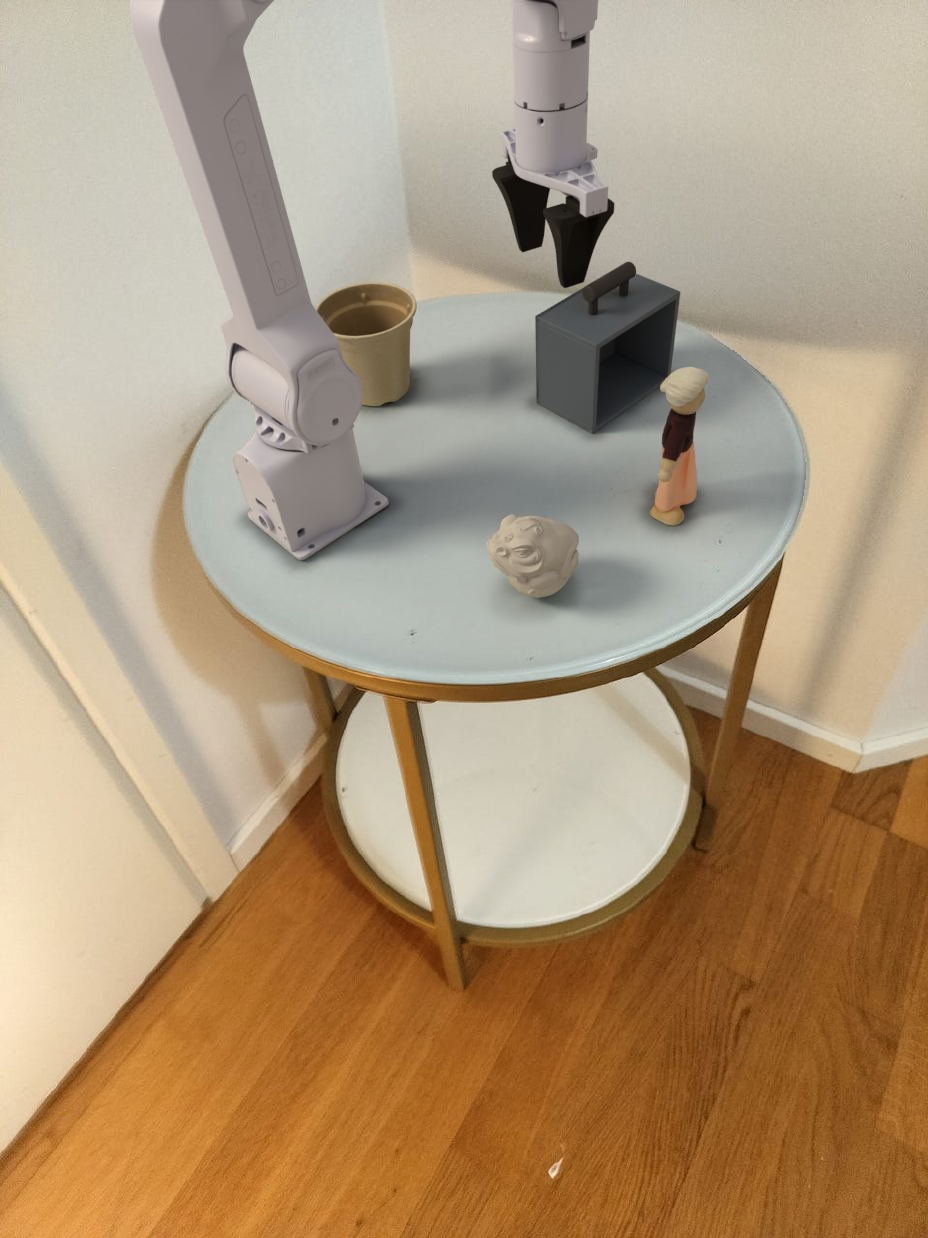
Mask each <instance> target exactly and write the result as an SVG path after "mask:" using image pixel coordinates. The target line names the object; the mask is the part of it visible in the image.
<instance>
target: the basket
mask: <svg viewBox="0 0 928 1238" xmlns="http://www.w3.org/2000/svg"><path fill="white" fill-rule="evenodd" d="M680 299H681V290H678V289H676V288H673V287H670V286H668V285H665V284H663V283H660V282H658V281H656V280H653V279H651V278H649V277H646V276H643V275H641V274H638V273H637V268H636V265H635V264H634V263H633V262H632V261H625V262H624V263H622V264H620V265H619V266H617V267H615V268H613V269H612V270H610V271H609V272H607V273H605V274H603V275H601V276H600V277H599V278H597V279H595V280H593V281H591V282H590V283H588V284H587V285H585V286H584V287H582V288H580V289H578V290H576V291H575V292H574V293H572V294H570V295H568V296H566V297H565V298H563V299H562V300H560V301H558V302H556V303H555V304H553V305H551V306H549V307H548V308H546V309H545V310H543V311H541V312H540V313H538V314H536V315H535V316H534V320H535V322H534V323H535V377H536V378H535V386H536V387H535V389H536V391H535V392H536V404H537V405H539V406H541V407H543V408H545V409H547V410H548V411H550V412H552V413H554V414H555V415H558V416H559V417H561V418H563V419H565V420H566V421H568V422H571V423H572V424H574V425H576V426H577V427H580V428H581V429H583V430H585V431H586V432H588V433H591V434H594V433H596V432H597V431H598V430H600V429H601V428H602V427H604V426H605V425H608V424H609V423H610V422H611V421H613V420H614V419H616V418H617V417H618V416H620V415H621V414H623V413H624V412H625V411H627V410H629V409H631V407H633V406H634V405H636V404H637V403H639V402H640V401H641V400H643V399H644V398H646V397H647V396H649V395H650V394H652V393H653V392H654V391H656V390H657V389H660V386H661V384H662V383H663V381H664V380H665V379H666V378H667V377H668V376H669V375H670V374H671V373H672V365H673V357H674V350H675V341H676V332H677V325H678V324H677V323H678V316H679V315H678V314H679V308H680Z"/></svg>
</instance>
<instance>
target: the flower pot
mask: <svg viewBox="0 0 928 1238" xmlns="http://www.w3.org/2000/svg"><path fill="white" fill-rule="evenodd" d="M417 305H418V304H417V300H416V298H415V296H414V294H413V293H412V292H411V291H410V290H409V289H406V288H405V287H403V286H400V285H397V284H394V283H389V282H383V281H381V282H380V281H368V282H367V281H365V282H359V283H353V284H349V285H346V286H343V287H340V288H338V289H335V290H333V291H331V292H330V293H328V294H326V296H324V297H322V298H321V300H320V301H319V302H318V303H317V304H316V305H315V307H314V308H315V309H316V311H317V312H318V314H319V315H320V316H321V318H322V319H323V320H324V322H325V323H326V324H327V326H328V327H329V328H330V330H331V331H332V332H333V334H334V335H335V337H336V338H337V339H338V341H339V343H340V347H341V351H342V354H343V357H344V359H345V361H346V362H347V364H348V365H349V366H350V367H351V368H352V369H353V370H354V371H355V372H356V373H357V375H358V376H359V378H360V381H361V384H362V389H363V399H362V405H361V406H367V407H380V406H382V405H383V404H386V403H389V402H393V403H395V402H397V401H399V400H400V399H401V398H403V397H404V396H405V395H406V394H407V393H408V391H409V390H410V386H411V379H410V378H411V376H410V375H411V373H410V371H411V369H410V368H411V361H410V360H411V329H412V328H413V327H412V326H413V323H414V317H415V314H416V313H417Z"/></svg>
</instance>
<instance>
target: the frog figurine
mask: <svg viewBox="0 0 928 1238" xmlns="http://www.w3.org/2000/svg"><path fill="white" fill-rule="evenodd" d="M579 538H580V537H579V534H578V533H577V532H576V530H574V528H573V527H571V526H570V525H568V524H566V523H564V522H563V521H558V520H556V519H553V518H549V517H543V516H537V515H525V516H522V515H520V516H518V515H516V514H513V513H510V514H508V515H507V516H505V517H504V518H503V519H502V520H501V522H500V524H499V529H498V530H496V531H495V532H494V533H493V534H492V536H491V537H490V538H488V540H487V541H486V547H487V550H488V555H489V559H490V561H491V562H492V565H493V566H494V568H496V569H498V570H499V571H500V572H501V573H502V574H503V575H505V576H506V578H507V580H508V581H509V583H510V585H511V586H512V587H513V589H515V590H516V591H517V592H519V593H520V594H522V595H524V596H527V597H530V598H537V599H538V598H545V597H549V596H552V595H554V594H556V593H557V592H559V591H560V590H561V589H562V588H563V587H564V586H565V585H566V583H568V580H569V578H571V577H572V575H574V573H575V572H576V571H577V568H578V563H579V550H578V549H577V548H578V546H579V542H580V539H579Z"/></svg>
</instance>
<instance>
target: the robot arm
mask: <svg viewBox="0 0 928 1238" xmlns="http://www.w3.org/2000/svg"><path fill="white" fill-rule="evenodd" d="M274 2H275V0H129V16H130V21H131V25H132V29H133V30H132V31H133V34H134V37H135V39H136V42H137V45H138V48H139V51H140V54H141V57H142V60H143V62H144V65H145V68H146V71H147V73H148V77H149V80H150V82H151V85H152V87H153V90H154V93H155V96H156V100H157V102H158V104H159V107H160V111H161V113H162V116H163V119H164V122H165V125H166V127H167V130H168V134H169V136H170V139H171V142H172V144H173V147H174V151H175V153H176V156H177V159H178V162H179V165H180V168H181V170H182V173H183V176H184V179H185V182H186V184H187V187H188V190H189V193H190V196H191V198H192V202H193V204H194V207H195V211H196V213H197V215H198V219H199V221H200V222H199V223H200V224H201V228H202V230H203V232H204V236H205V238H206V241H207V244H208V247H209V250H210V253H211V255H212V258H213V261H214V264H215V267H216V269H217V270H216V271H217V272H218V276H219V278H220V282H221V283H222V287H223V289H224V292H225V296H226V298H227V301H228V305H229V307H230V309H231V313H230V314H228V316H227V317H226V318H225V319H224V321H222V323H221V324H220V329H221V332H222V335H223V337H224V342H225V347H226V348H225V350H226V354H225V362H224V363H225V364H224V369H225V376H226V380H227V382H228V385H229V386H230V387H231V389H232V391H233V392H234V393H235V394H236V395H238V396H239V397H240V398H243V399H244V400H245V401H247V402H250V407H251V410H252V413H253V415H254V423H255V427H256V430H255V432H254V434H253V435H252V437H251V438H250V439H249V441H248V442H247V443H246V444H245V445H243V446H242V447H241V448H240V449H239V450H238V451H237V452H235V454H234V455H233V459H232V460H233V467H234V470H235V474H236V476H237V478H238V479H237V480H238V482H239V484H240V488H241V490H242V493H243V495H244V499H245V501H246V504H247V507H248V510H249V511H248V512H247V516H248V518H249V520H251V522H252V523H254V524H255V525H256V526H257V527H259V528H260V529H261V530H262V531H264V533H266V534H267V535H268V536H270V537H271V538H272V539H273V540H274V541H275V542H276V543H277V544H279V545H280V546H282V547H283V549H285V550H286V551H287V552H289V554H291V555H292V557H294V558H295V559H297V560H299V561H304V560H306V559H308V558H310V557H311V556H313V555H314V554H316V553H317V552H319V551H320V550H322V549H323V548H325V547H326V546H328V545H330V544H331V543H332V542H334V541H336V540H338V538H340V537H342V536H343V535H345V534H346V533H349V531H351V530H352V529H354V528H356V527H357V526H358V525H360V524H362V523H363V522H365V521H366V520H368V519H369V518H370V517H371V518H372V516H374V515H375V514H377V513H378V512H380V511H381V510H383V509H384V508H386V507H387V506H389V504H390V502H389V498H388V497H387V496H385V495H383V494H382V493H381V492H379V491H378V490H377V489H375V488H374V487H373V486H371V485H370V484H368V483H367V482H365V480H364V476H363V471H362V466H361V461H360V457H359V451H358V447H357V443H356V438H355V434H354V429H353V428H354V427H355V426H354V424H355V422H356V421H357V418H358V416H359V414H360V411H361V408H362V406H363V405H362V399H363V389H362V384H361V381H360V378H359V376H358V375H357V373H356V372H355V371H354V370H353V369H352V368H351V367H350V366H349V365H348V364H347V362H346V361H345V359H344V357H343V354H342V351H341V347H340V343H339V341H338V339H337V338H336V337H335V335H334V334H333V332H332V331H331V330H330V328H329V327H328V326H327V324H326V323H325V322H324V320H323V319H322V318H321V316H320V315H319V314H318V312H317V311H316V309H315V308H316V307H314V305H313V303H312V300H311V297H310V292H309V290H308V286H307V282H306V277H305V274H304V271H303V266H302V263H301V260H300V256H299V253H298V249H297V245H296V241H295V237H294V233H293V230H292V227H291V223H290V219H289V215H288V212H287V208H286V204H285V201H284V197H283V194H282V189H281V185H280V182H279V178H278V174H277V171H276V167H275V163H274V160H273V156H272V152H271V149H270V145H269V141H268V138H267V134H266V131H265V127H264V122H263V119H262V116H261V112H260V108H259V104H258V100H257V97H256V93H255V90H254V86H253V82H252V79H251V74H250V71H249V68H248V63H247V59H246V56H245V50H244V46H245V43H246V41H247V39H248V37H249V36H250V34H251V32H252V30H253V29H254V26H255V24H256V22H257V20H258V19H259V18H260V16H261V15H262V14H263V13H264V12H265V11H267V9H268V8H269V7H270V6H271V4H272V3H274ZM598 9H599V0H511V26H512V28H511V30H512V32H511V33H512V65H513V98H514V103H513V104H514V105H513V106H514V127H513V128H510V129H507V130H504V131H500V132H499V140H500V141H499V143H500V156H501V157H503V158H504V159H507V161H506V162H505V165H502V166H498V167H496V168H494V169H493V170H492V171H491V175H492V176H491V177H492V179H493V180H494V182H495V184H496V186H497V188H498V189H499V191H500V193H501V195H502V198H503V200H504V202H505V205H506V208H507V211H508V214H509V217H510V221H511V224H512V229H513V233H514V236H515V240H516V244H517V247H518V249H519V251H520V252H521V253H526V252H529V251H532V250H535V249H538V248H542V247H543V243H544V238H545V231H546V223H547V225H548V227H549V230H550V233H551V236H552V240H553V244H554V251H555V259H556V269H557V270H556V271H557V277H558V281H559V283H560V286H561V287H562V288H563V289H567V288H571V287H574V286H577V285H581V284H583V283H584V282H585V280H586V277H587V275H588V274H587V273H588V271H589V267H590V263H591V260H592V257H593V254H594V250H595V248H596V246H597V242H598V240H599V239H600V236H601V234H602V233H603V230H604V228H605V227H606V225H607V224H608V222H609V221H610V219H611V217H612V216H613V215H614V214H615V202H614V201H613V200H612V199H610V198H609V185H607V184H606V183H604V182H603V181H602V180H601V178H600V176H599V173H598V171H597V169H596V167H595V166H594V163H593V161H594V160H595V159H597V158H598V151H599V150H598V148H597V147H596V146H595V145H593V144H591V143H589V142H587V140H588V112H589V111H588V110H589V109H588V105H589V79H590V77H589V75H590V45H591V44H590V43H591V31H594V28H595V26H596V25H595V23H596V21H597V20H598V13H599V11H598ZM551 190H555V191H557V192H560V193H561V194H562V195H564V196H565V203H564V202H563V203H559V204H556V205H552V206H549V207H548V203H549V195H550V191H551Z"/></svg>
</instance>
